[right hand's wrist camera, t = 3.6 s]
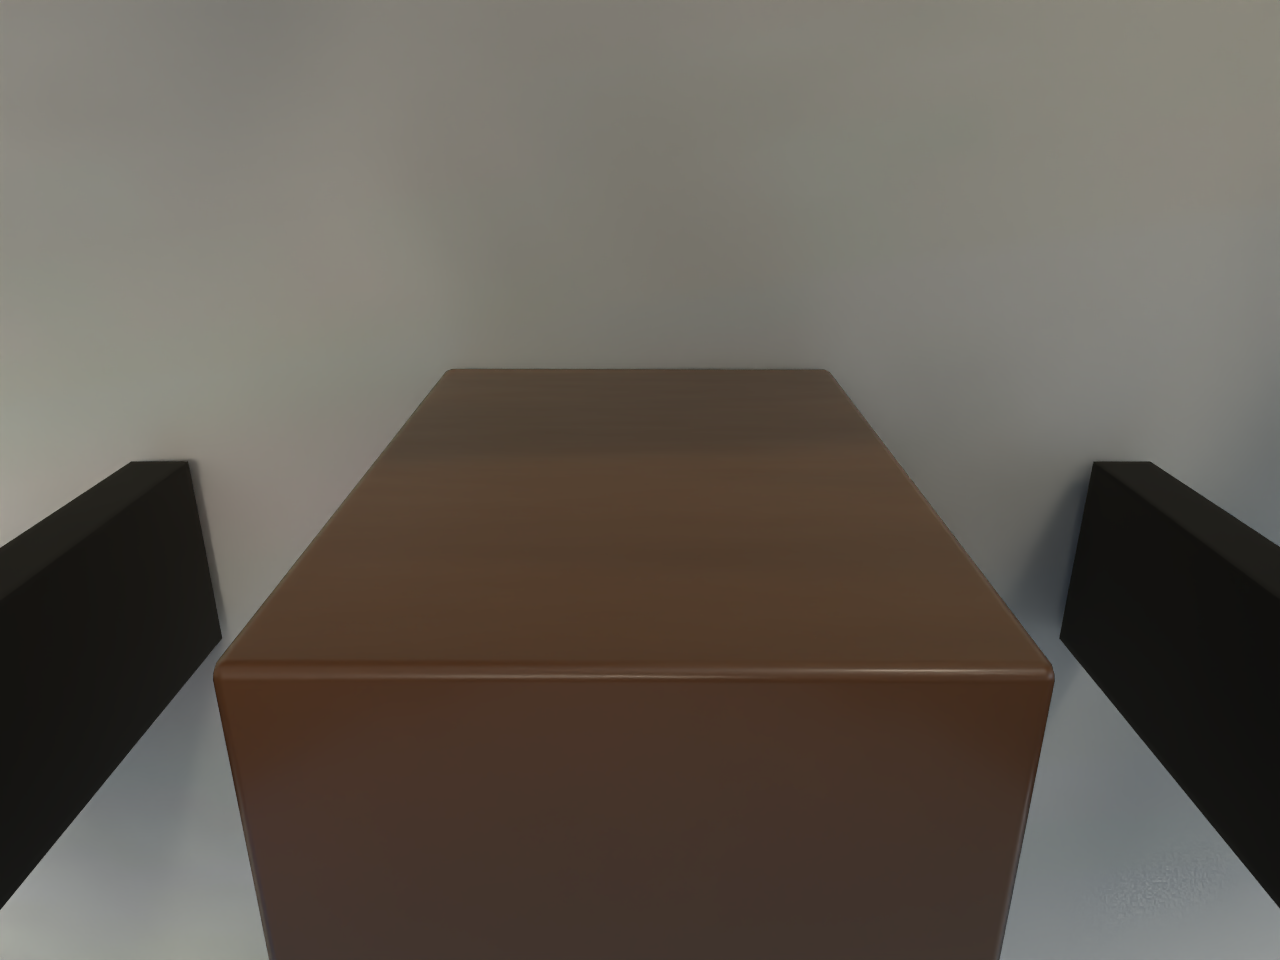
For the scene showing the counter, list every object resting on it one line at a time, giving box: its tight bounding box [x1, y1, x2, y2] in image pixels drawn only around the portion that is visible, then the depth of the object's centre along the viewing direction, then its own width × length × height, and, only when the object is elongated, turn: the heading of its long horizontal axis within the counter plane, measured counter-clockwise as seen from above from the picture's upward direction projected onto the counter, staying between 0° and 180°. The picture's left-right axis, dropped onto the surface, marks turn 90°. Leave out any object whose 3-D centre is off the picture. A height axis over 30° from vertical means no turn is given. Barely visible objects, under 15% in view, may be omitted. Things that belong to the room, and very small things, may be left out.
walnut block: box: [213, 369, 1055, 960], centre depth 9 cm, size 5×5×7 cm
